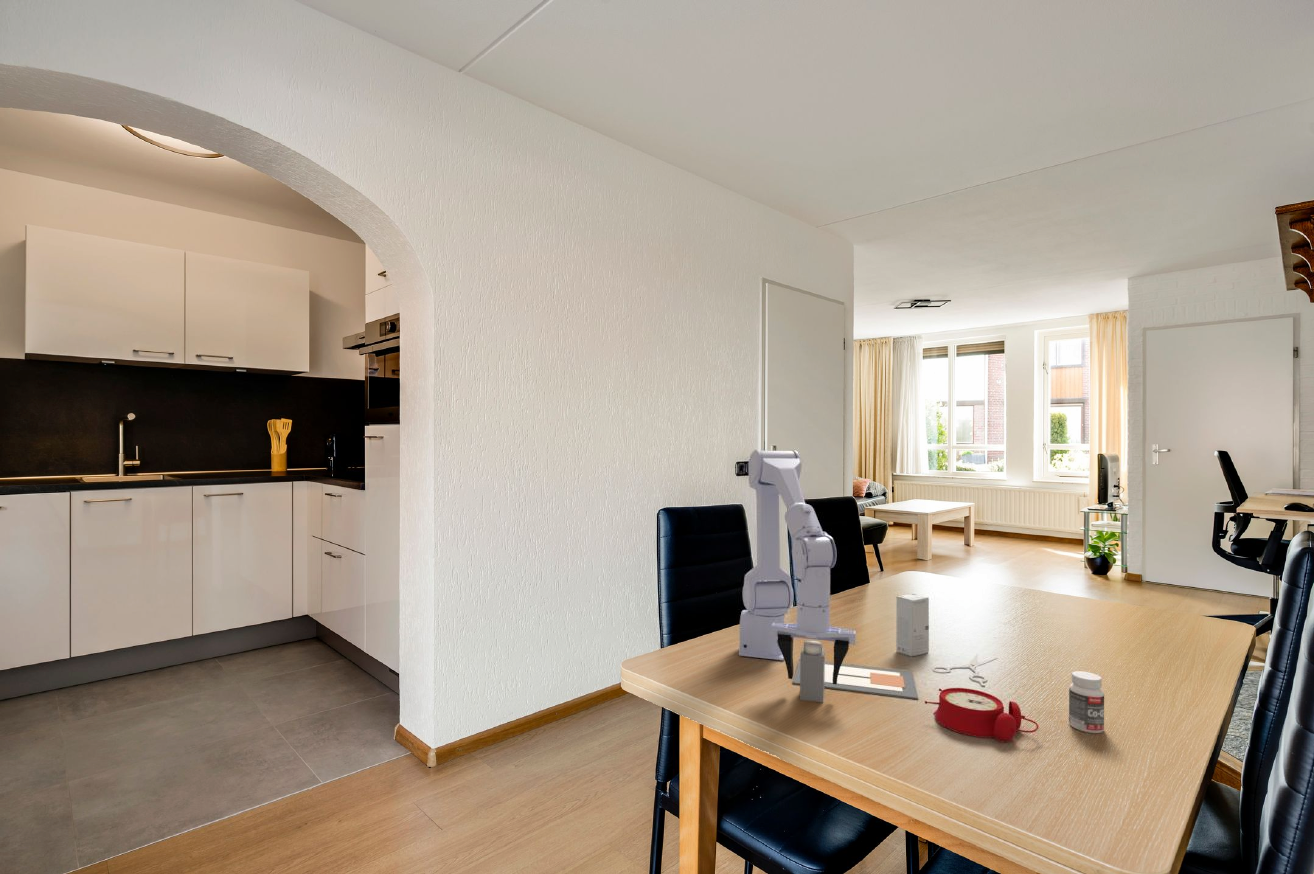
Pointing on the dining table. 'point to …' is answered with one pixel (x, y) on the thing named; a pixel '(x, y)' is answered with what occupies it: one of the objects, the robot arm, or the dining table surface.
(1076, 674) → the pill bottle
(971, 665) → the scissors
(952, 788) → the dining table surface
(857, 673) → the mat
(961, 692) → the alarm clock
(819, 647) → the grey post with dome
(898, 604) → the skincare box
